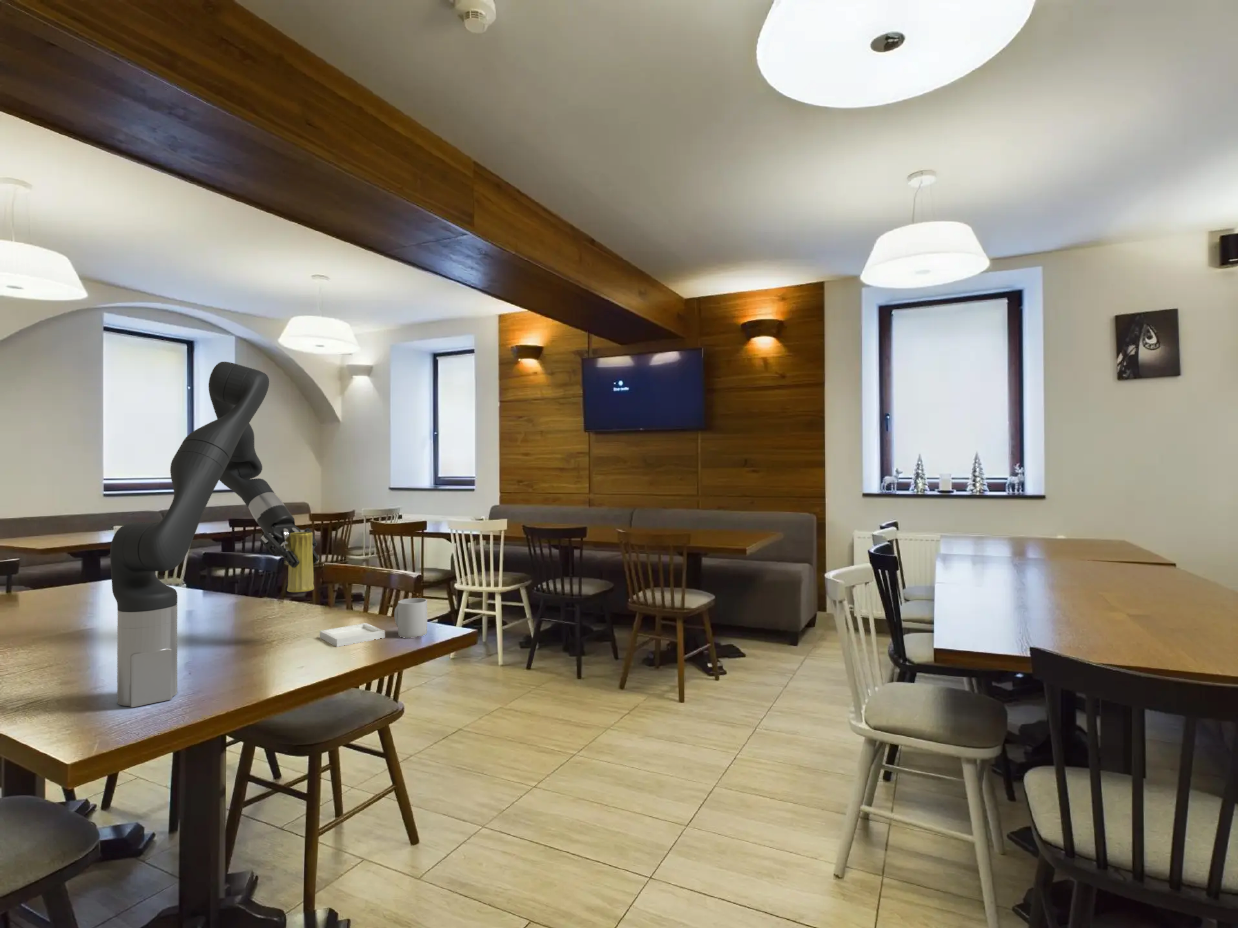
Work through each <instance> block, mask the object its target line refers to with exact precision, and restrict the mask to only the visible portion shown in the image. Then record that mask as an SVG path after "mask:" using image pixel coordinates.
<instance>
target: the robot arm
mask: <svg viewBox="0 0 1238 928" xmlns="http://www.w3.org/2000/svg"><path fill="white" fill-rule="evenodd" d="M269 387H270V379H269V376H268V375H267V374H266V373H265V372H263V371H261V370H258V369H255V368H252V367H249V366H244V365H241V364H239V363H234V362H231V361H230V362H229V361H220V362H218V363H217V364H216V365H215V366H214V367H213V369H212V371H211V373H210V375H209V379H208V394H209V397H210V401H211V404H212V407H213V410H214V413H215V414H214V415H215V416H216V419H215V420H213V421H210V422H209V423H207V424H204V425H202V426H201V427H199V428H197V429H195V430H193V431H191V432H190V433H189V434H188V435H187V436H185V438H184V439H183V441H182V443H181V444H180V446H179V448H178V450H177V451H176V453H175V455H174V456H173V458H172V460H171V462H170V470H169V471H170V479H171V485H172V488H173V499H172V502H171V504H170V506H169V508H168V510H167V511H166V514H165V515H164V516H163V518H162V519H161V520H160V521H159V522H129V523H126V524H123V525H122V526H121V527H119V528H118V529H117V530H116V531H115V533H114V534H113V536H112V540H111V542H110V543H111V544H110V550H109V551H110V552H109V553H110V554H109V558H110V560H109V561H110V562H109V563H110V575H111V588H112V589H111V590H112V594H113V596H114V599H115V602H116V604H117V609H116V610H117V625H116V627H117V632H116V633H117V635H116V637H117V638H116V642H117V648H116V649H117V650H116V652H117V653H116V655H117V657H116V658H117V659H116V661H117V662H116V663H117V664H116V668H117V669H116V670H117V671H116V672H117V675H116V679H117V681H116V682H117V684H116V685H117V686H116V688H117V690H116V691H117V692H116V695H117V697H116V698H117V700H116V701H117V704H118V705H120V706H125V707H127V706H128V707H130V708H135V707H141V706H145V705H150V704H155V703H161V702H164V701H169V700H172V699H173V697H174V696H176V695H177V693H178V592H177V590H176V589H174V587H171V586H169V585H168V584H165V583H164V582H162V581H161V580H160V579H159V578H158V577H157V575H156V572H169V571H171V570H173V569H174V570H175V569H176V568H177V567H178V566H180V564H181V563H182V562H183V560H184V559H185V558H186V555H187V554H188V552H189V549H190V547H191V545H192V543H193V539H194V537H195V534H196V532H197V529H198V527H199V524H200V522H201V519H202V516H203V514H204V511H205V510H206V508H207V505H208V503H209V500H210V498H211V497H212V494H213V493H214V490H215V488H216V486H217V485H218V483H219V481H220V483H222V485H224V486H225V487H227V488H228V489H229V490H231V491H232V492H234V494H236V495H237V496H238V497H239V498H240V499H241V500H242V502H243V503H244V504H245V505H246V507H247V508H248V509H249V511H250V514H251V515H252V517H253V520H255V522H256V524H258V527H260V528H261V530H262V532H263V535H262V536H261V537H260V539H259V542H260V543H261V544H262V545H263V546H264V547H265V548H266V549H267V550H268V551H269V552H270V553H271V554H272V556H274V557H278V556H280V557H281V558H284V560H285V561H286V562H287V564H288V566H289V565H290V566H291V567H292V568H295V567H297V565H298V564H299V560H298V559H297V557H296V556H295V554H294V553H293V552H292V551H290V546H289V544H290V541H289V534H290V533H294V532H312V530H311V529H310V527H307V528H305V529H300V528H299V527H298V526H297V525H296V522H295V518H294V516H293V515H292V513H291V512H290V511H289V509H288V508H287V506H286V505H285V504H284V502H283V501H282V499H281V498H280V497H279V496H278V495H277V494H276V493H275V491H274V490H273V489H272V488H271V486H270V484H269V483H268V482H267V481H266V480H265V479H263V478H258V477H259V476H260V474H261V473H262V471H263V463H262V461H261V460H260V458H259V457H258V455H257V452H256V449H255V433H254V429H253V427H252V425H251V424H250V422H251V421H252V419H253V418H254V416H255V415H256V413H257V411H258V410H259V409H260V407H261V405H262V404H263V402H264V399H265V398H266V396H267V392H268V390H269ZM312 545H313V565H316V564H317V563H318V561H320V556H319V555H318V553H317V552H316V551H315V548H316V547H317V545H318V542H317V540H316V538H315V536H314V535H313V543H312Z"/></svg>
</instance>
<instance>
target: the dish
mask: <svg viewBox="0 0 1238 928" xmlns="http://www.w3.org/2000/svg"><path fill="white" fill-rule="evenodd" d="M380 638H382V639H385V638H386V630H384V629H382V628H379V627H377V626H374V625H371V624H370V623H367V622H363V623H358V624H352V625H346V626H341V627H334V628H328V629H324V630H322V629H321V630H319V639H321V640H323V641H325V642H327V643H329V644H330V645H332V646H334V647H337V648H338V647H344V645H345V646H349V645H353V643H355V644H360V642H361V643H365V642H364V641H366V642H370V641H375V640H374V639H376V640H381V639H380Z"/></svg>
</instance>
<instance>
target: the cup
mask: <svg viewBox="0 0 1238 928" xmlns="http://www.w3.org/2000/svg"><path fill="white" fill-rule="evenodd" d="M393 614H394V623H395V626H397V633H398V634H397V635H398V637H399V636H401V637H405V638H404V639H408V638H409V639H412V638H411V637H417V636H423V635H425V634H426V635H427V633H428V599H426V598H422V597H421V598H420V597H419V598H418V597H411V598H403V599H401V600H398V601H397V605H396V607H395V608H394V613H393ZM426 635H425V636H426ZM401 637H400V638H401ZM423 637H424V636H423Z"/></svg>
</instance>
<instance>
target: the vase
mask: <svg viewBox="0 0 1238 928" xmlns="http://www.w3.org/2000/svg"><path fill="white" fill-rule="evenodd" d="M313 536H314V534H313V532H312V531H311V532H294V533H290V534H289V541H290V544H289V546H290V551H292V552H293V553H294V554H295V556H296V557H297V559H298V560H299V564H298V565H297V567H295V568H292V567H291V566H290V565H289V564H288V575H287V577H288V579H287V588H286V591H287V592H289V593H302V592H310V591H313V590H314V589H315V586H314V581H315V580H314V575H315V574H314V564H313V545H312V543H313Z"/></svg>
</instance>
